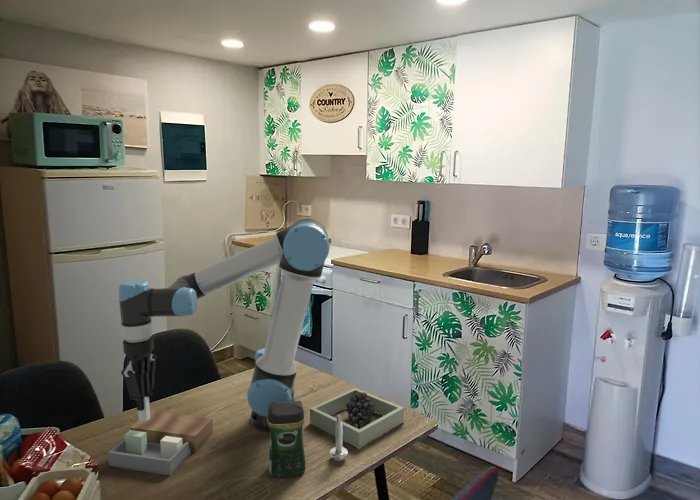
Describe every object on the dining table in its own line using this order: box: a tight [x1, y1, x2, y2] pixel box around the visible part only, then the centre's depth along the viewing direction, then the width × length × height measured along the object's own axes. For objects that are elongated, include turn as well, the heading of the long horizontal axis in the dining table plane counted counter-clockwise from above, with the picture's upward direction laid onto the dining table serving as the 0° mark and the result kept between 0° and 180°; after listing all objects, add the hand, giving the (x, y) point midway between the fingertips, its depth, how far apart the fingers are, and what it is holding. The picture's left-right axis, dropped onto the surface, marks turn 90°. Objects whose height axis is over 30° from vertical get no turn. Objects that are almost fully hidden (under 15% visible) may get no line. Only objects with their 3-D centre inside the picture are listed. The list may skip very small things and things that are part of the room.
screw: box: [329, 413, 349, 462], centre depth 138 cm, size 13×5×5 cm
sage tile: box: [124, 429, 148, 454], centre depth 140 cm, size 5×5×2 cm
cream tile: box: [160, 436, 183, 459], centre depth 138 cm, size 5×5×2 cm
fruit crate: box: [309, 387, 405, 449], centre depth 158 cm, size 20×20×5 cm
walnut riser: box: [129, 410, 214, 453], centre depth 148 cm, size 20×10×5 cm, turn 78°
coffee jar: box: [267, 400, 307, 478], centre depth 132 cm, size 10×8×19 cm
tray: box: [107, 438, 192, 477], centre depth 137 cm, size 18×10×4 cm, turn 78°
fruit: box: [346, 391, 375, 429], centre depth 157 cm, size 9×8×15 cm
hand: (144, 418), depth 143 cm, fingers closed
